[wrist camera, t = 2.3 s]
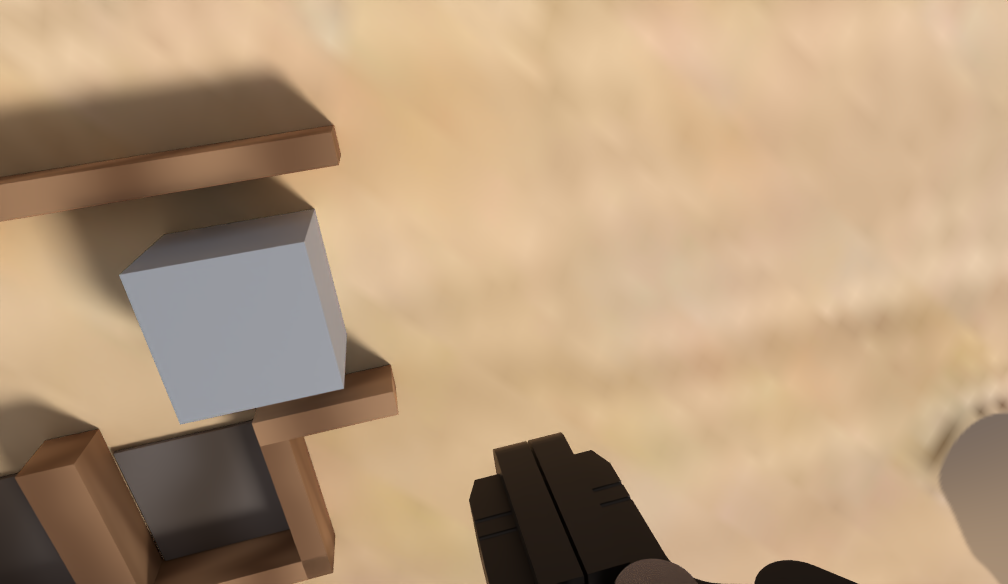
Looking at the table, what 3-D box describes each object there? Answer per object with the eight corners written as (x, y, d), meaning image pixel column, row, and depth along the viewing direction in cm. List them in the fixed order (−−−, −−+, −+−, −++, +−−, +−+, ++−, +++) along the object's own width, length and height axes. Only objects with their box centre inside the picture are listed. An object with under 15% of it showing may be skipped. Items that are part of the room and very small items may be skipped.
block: (314, 207, 25) (304, 241, 20) (347, 333, 27) (343, 388, 23) (164, 233, 24) (118, 274, 20) (211, 361, 26) (180, 424, 22)
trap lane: (333, 125, 24) (331, 132, 22) (425, 511, 32) (430, 546, 30) (-491, 254, 20) (-603, 280, 17) (-147, 660, 28) (-193, 714, 25)
